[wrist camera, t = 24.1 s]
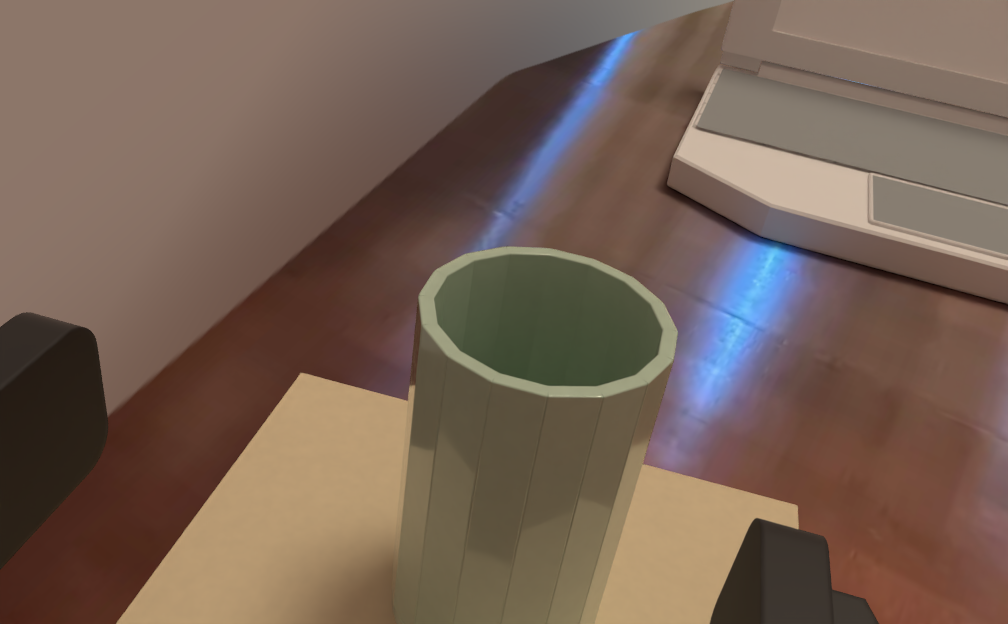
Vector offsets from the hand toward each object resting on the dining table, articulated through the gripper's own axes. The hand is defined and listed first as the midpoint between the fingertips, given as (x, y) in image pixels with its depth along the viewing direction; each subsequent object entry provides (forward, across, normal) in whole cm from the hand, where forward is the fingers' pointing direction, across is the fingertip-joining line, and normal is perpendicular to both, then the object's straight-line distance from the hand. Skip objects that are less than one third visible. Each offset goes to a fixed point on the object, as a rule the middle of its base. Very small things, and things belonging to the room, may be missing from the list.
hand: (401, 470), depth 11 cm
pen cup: (+11, 0, +16) cm, 19 cm away
